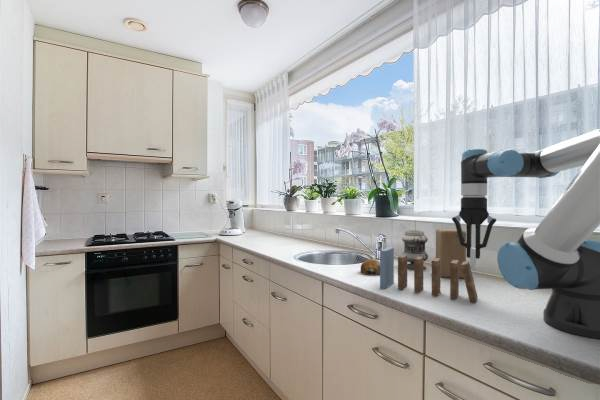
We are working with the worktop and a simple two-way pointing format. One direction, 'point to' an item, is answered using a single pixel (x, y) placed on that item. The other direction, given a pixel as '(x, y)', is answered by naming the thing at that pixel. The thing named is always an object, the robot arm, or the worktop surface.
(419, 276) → the domino
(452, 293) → the domino
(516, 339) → the worktop surface
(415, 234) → the grey tall rounded piece
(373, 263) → the brown furry rounded lump
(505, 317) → the worktop surface
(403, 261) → the domino
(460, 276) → the wooden block
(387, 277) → the board
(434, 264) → the domino
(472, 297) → the loose domino
